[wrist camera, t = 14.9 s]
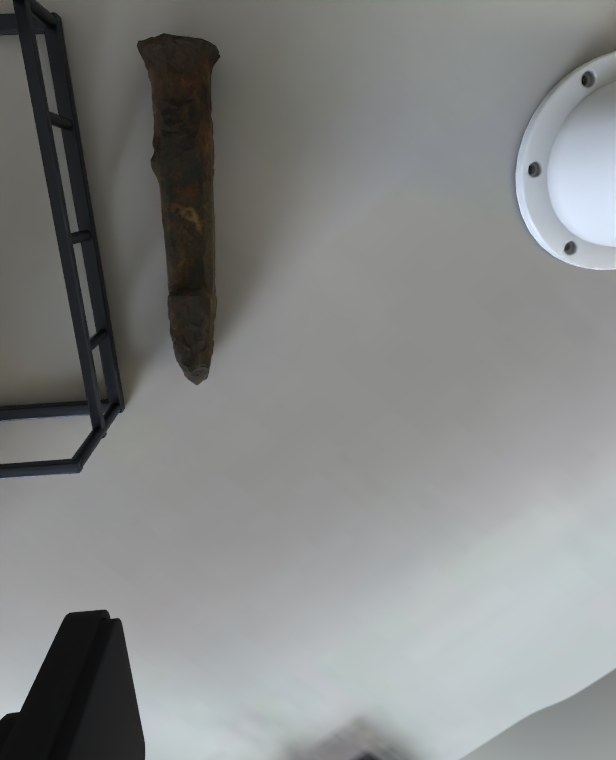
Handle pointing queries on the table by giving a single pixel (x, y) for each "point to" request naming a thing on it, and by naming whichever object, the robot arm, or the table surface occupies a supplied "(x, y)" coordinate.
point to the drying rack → (66, 241)
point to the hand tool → (186, 189)
